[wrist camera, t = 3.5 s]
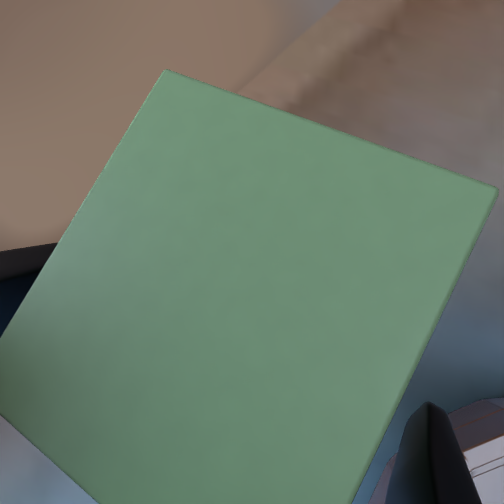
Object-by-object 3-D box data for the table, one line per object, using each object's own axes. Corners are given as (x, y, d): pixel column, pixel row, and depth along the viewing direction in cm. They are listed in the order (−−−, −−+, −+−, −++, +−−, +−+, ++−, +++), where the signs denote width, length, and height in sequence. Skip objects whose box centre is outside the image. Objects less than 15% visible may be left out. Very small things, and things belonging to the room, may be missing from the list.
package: (313, 403, 16) (276, 674, 4) (219, 344, 17) (-36, 389, 5) (369, 291, 16) (508, 185, 4) (274, 244, 18) (163, 63, 6)
